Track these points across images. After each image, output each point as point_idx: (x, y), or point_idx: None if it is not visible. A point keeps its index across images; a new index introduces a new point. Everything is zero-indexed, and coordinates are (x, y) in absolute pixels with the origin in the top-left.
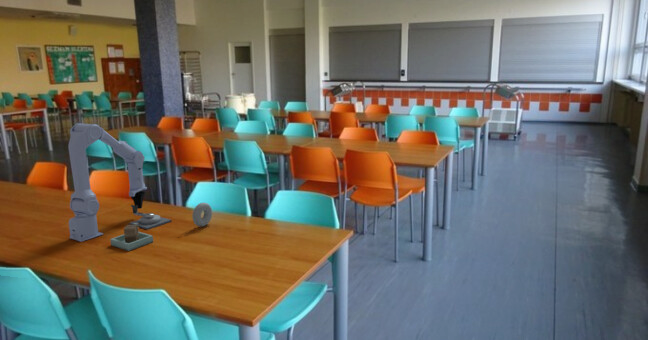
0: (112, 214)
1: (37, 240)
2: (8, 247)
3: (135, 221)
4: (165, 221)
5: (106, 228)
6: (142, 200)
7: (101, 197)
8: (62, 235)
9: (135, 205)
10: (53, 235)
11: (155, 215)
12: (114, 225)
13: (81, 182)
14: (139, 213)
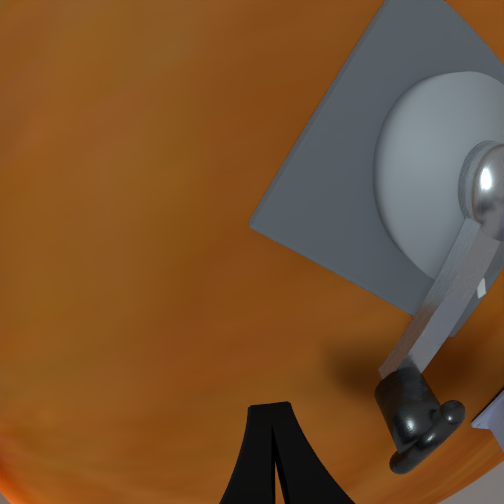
0: (208, 481)
1: (471, 470)
2: (484, 473)
3: None
4: (460, 22)
5: None
6: (261, 484)
7: (39, 500)
8: (462, 459)
9: (443, 439)
10: (450, 473)
11: (422, 142)
12: None
13: None
14: (440, 334)
